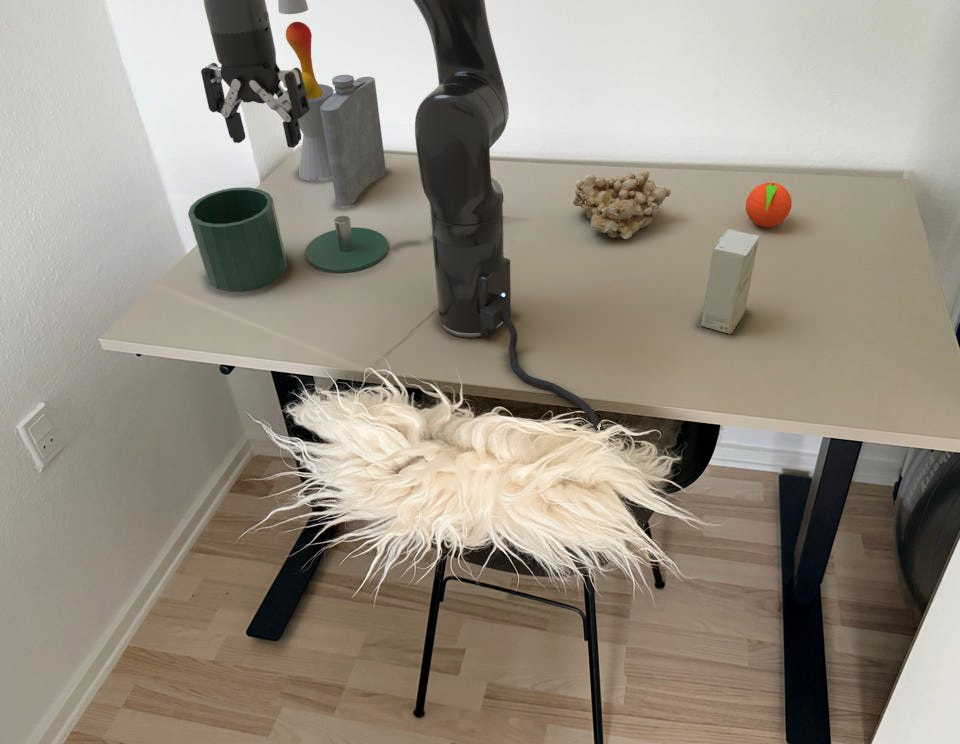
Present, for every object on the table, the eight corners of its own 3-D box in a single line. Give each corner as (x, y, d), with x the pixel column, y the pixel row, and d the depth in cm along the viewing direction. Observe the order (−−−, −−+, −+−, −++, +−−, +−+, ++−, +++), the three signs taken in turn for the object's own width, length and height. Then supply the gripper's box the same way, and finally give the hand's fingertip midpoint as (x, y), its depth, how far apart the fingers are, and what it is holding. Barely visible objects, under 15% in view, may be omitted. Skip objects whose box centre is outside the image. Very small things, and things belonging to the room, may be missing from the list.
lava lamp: (305, 161, 154) (267, -37, 132) (350, 161, 154) (320, -38, 131) (292, 181, 148) (250, -24, 125) (339, 182, 147) (306, -25, 124)
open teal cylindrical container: (303, 264, 125) (289, 198, 117) (247, 303, 117) (228, 234, 110) (249, 245, 130) (232, 180, 123) (191, 281, 122) (170, 214, 115)
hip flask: (349, 209, 138) (331, 95, 126) (329, 206, 139) (309, 93, 127) (389, 171, 150) (376, 62, 137) (369, 168, 151) (355, 60, 138)
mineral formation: (567, 209, 135) (649, 191, 137) (596, 259, 127) (683, 238, 129) (568, 170, 129) (654, 150, 131) (599, 219, 120) (690, 198, 122)
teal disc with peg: (404, 245, 128) (400, 211, 124) (353, 284, 120) (347, 248, 116) (342, 226, 134) (337, 193, 130) (289, 262, 125) (281, 227, 121)
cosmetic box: (730, 335, 106) (746, 257, 99) (698, 326, 108) (711, 248, 101) (745, 311, 110) (761, 234, 103) (714, 303, 112) (727, 226, 105)
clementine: (783, 241, 125) (793, 199, 120) (738, 234, 127) (746, 193, 122) (788, 217, 130) (798, 177, 126) (745, 211, 132) (752, 171, 128)
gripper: (174, 28, 101) (208, 150, 111) (274, 32, 97) (300, 158, 107) (206, 11, 106) (236, 129, 116) (302, 15, 103) (324, 136, 113)
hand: (266, 143), depth 112 cm, fingers open, 8 cm apart
